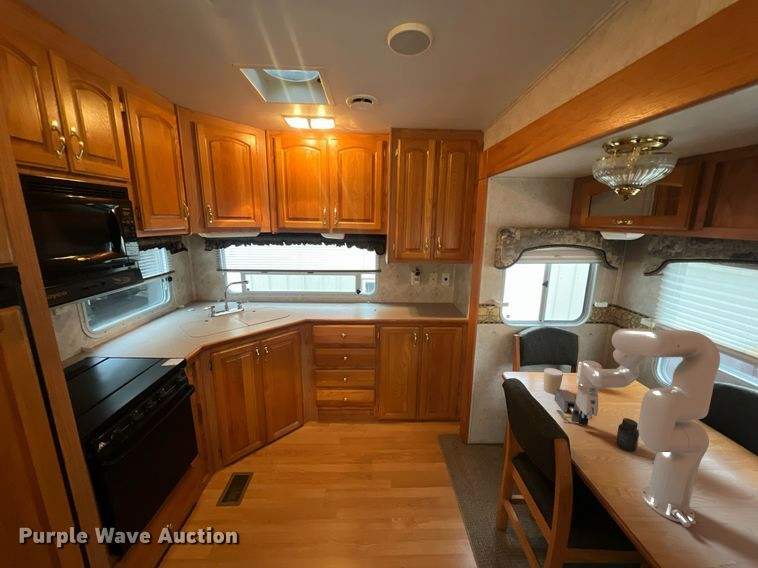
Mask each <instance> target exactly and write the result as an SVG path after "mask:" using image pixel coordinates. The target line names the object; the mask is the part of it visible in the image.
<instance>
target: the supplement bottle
mask: <svg viewBox="0 0 758 568" xmlns="http://www.w3.org/2000/svg"><path fill="white" fill-rule="evenodd" d="M638 424H639V422H637V421H635V420H633V419H631V418H628V417H624V418H623V419H622V422H621V423H619V424H618V428H617V433H616V438H615V445H616V446H617V447H619V448H620V449H622V450H623V451H626V452H630V453H634V452H637V449H638V443H639V439H640V435H639V431H638Z"/></svg>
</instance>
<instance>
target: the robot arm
mask: <svg viewBox="0 0 758 568" xmlns="http://www.w3.org/2000/svg"><path fill="white" fill-rule="evenodd" d="M611 344H612V346H613V347H614V351H613V352H612V357H613V359H614V361H615V362H616V363H617V364H619V366H618V367H616V368H603V367H602V365H601V364H600V363H599V362H596V361H594V360H587V359H586V360H582V361H581V362H582V363H581V370H580V377H579V383H578V385H577V392H576V395H575V399H576V405H577V406H578V407H577V408H578V410H579V420H578V422H577V423H578V424H579V425H580V426H587V427H588V424H589V420H591V421H592V420H593V416H594V417H597V416H598V412H599V390H600V389H617V388H618V389H619V388H622V389H623V388H625V387H626V388H627V387H628V386H630V385H631V384H632V383H634V382H635V381H636V380H637V379H638V378H639V377H640V365H641V364H643V363H644V362H645V361H646V360H647V359H648V358H661V359H662V358H682V360H681V361H680V362H679V363H678V365H677V366H676V367H675V368H674V371H673V374H672V380H671V383H670V385H669V386H668V387H667V386H666V387H655V388H651V389H649V390H647V391H646V392H645V393H644V395H643V397H642V401H641V407H640V413H639V419H638V426H637V429H638V431H639V439H640V440H641V441H642V443H643V444H644V445H645V446H646V447H647V448H648V449H650V450H652V451H654V452H656V453H655V455H654V456H655V457H654V462H653V466H652V469H651V470H652V471H651V475H650V480H649V485H647V486H643V487H642V488H641V493H640V494H641V498H642V499H643V501H644V502H645V503H646V504H647V505H648V506H649V508H651V509H652V510H653V511H654V512H656V513H658V514H659V515H661V516H663V517H664V518H667V519H669V520H671V521H674V522H676V523H680V524H682V525H683V526H684V527H685V528H690V527H691V526H692V525H695V524H697V521H696V520H695V512H694V510H693V509H692V508H691V507H690V503H691V499H692V495H693V491H694V487H695V483H696V479H697V476H698V471H699V467H700V464H701V461H702V459H703V458H704V456H705V454H706V453H707V451H708V449H709V445H710V438H709V434H708V433H707V431H706V430H705V427H703V426H702V425H700V424H699V423H697V422H696V421H697V420H701V419H704V418H706V417H707V416H708V414H709V410H710V405H711V399H712V395H713V390H714V384H715V379H716V378H717V374H718V371H719V368H720V365H721V354H720V351H719V348H718V347H717V345H716V344H715V342H714V341H713V340H712V339H711V338H709V337H708V336H706V334H702V333H701V332H697V331H694V330H688V329H687V330H683V329H675V330H673V329H672V330H670V329H669V330H668V329H666V330H653V329H649V328H642V327H641V328H639V327H638V328H619V329H618V330H616V331H615V332H614V333H613V335H612V336H611ZM694 420H696V421H694Z"/></svg>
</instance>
